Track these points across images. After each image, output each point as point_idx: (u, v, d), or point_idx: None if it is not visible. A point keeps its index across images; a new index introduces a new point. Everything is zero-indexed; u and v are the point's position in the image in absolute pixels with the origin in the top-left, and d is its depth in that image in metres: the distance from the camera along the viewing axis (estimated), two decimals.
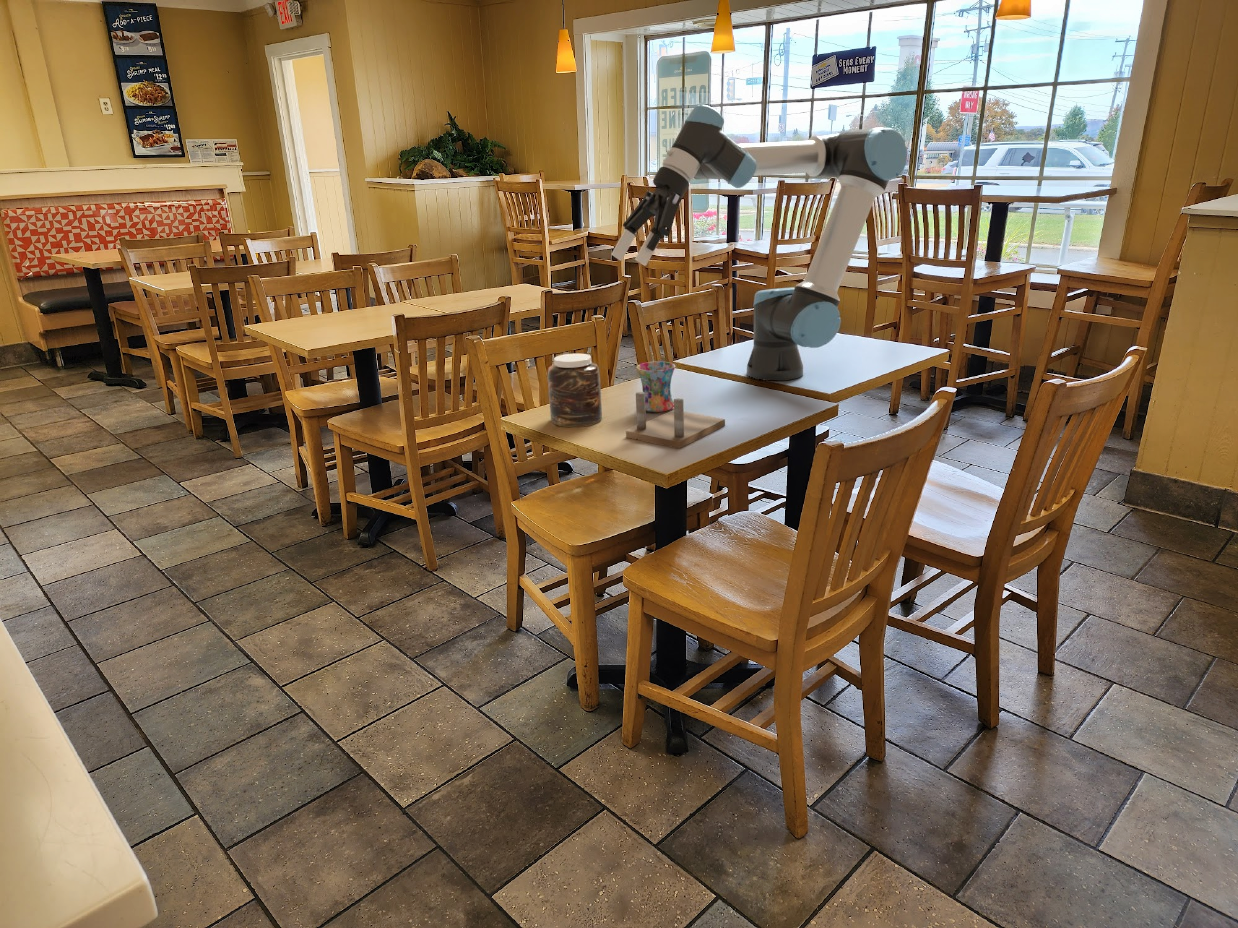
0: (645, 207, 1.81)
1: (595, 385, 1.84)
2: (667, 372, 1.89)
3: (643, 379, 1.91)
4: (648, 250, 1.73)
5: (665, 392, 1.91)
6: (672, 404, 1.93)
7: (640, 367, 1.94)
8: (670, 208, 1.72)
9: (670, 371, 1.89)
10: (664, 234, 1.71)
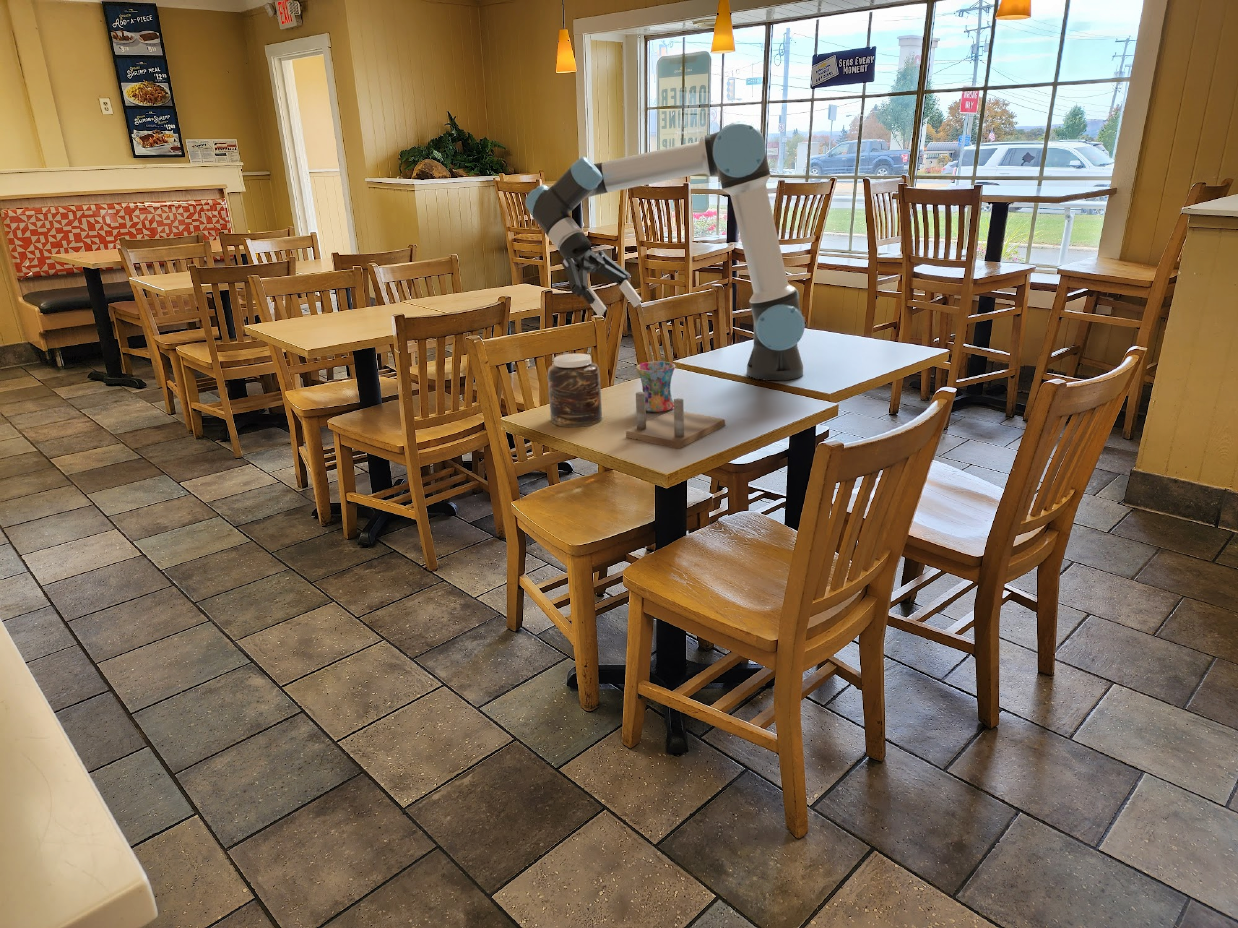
0: (596, 271, 1.99)
1: (595, 385, 1.84)
2: (667, 372, 1.89)
3: (643, 379, 1.91)
4: (594, 302, 1.90)
5: (665, 392, 1.91)
6: (672, 404, 1.93)
7: (640, 367, 1.94)
8: (568, 272, 1.91)
9: (670, 371, 1.89)
10: (577, 289, 1.88)
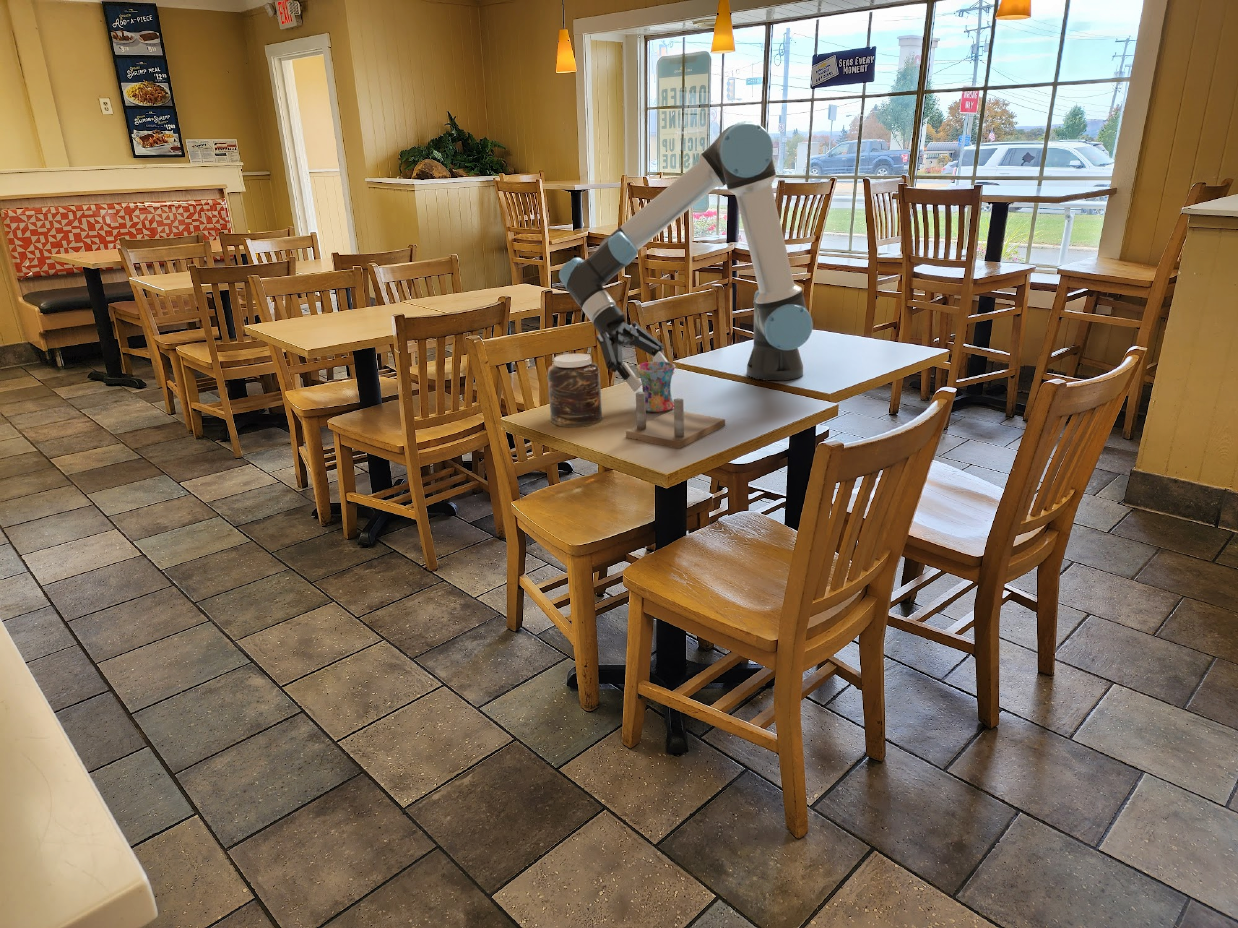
0: (629, 343, 1.99)
1: (595, 385, 1.84)
2: (667, 372, 1.89)
3: (643, 379, 1.91)
4: (629, 377, 1.90)
5: (665, 392, 1.91)
6: (672, 404, 1.93)
7: (640, 367, 1.94)
8: (603, 347, 1.91)
9: (670, 371, 1.89)
10: (613, 365, 1.88)
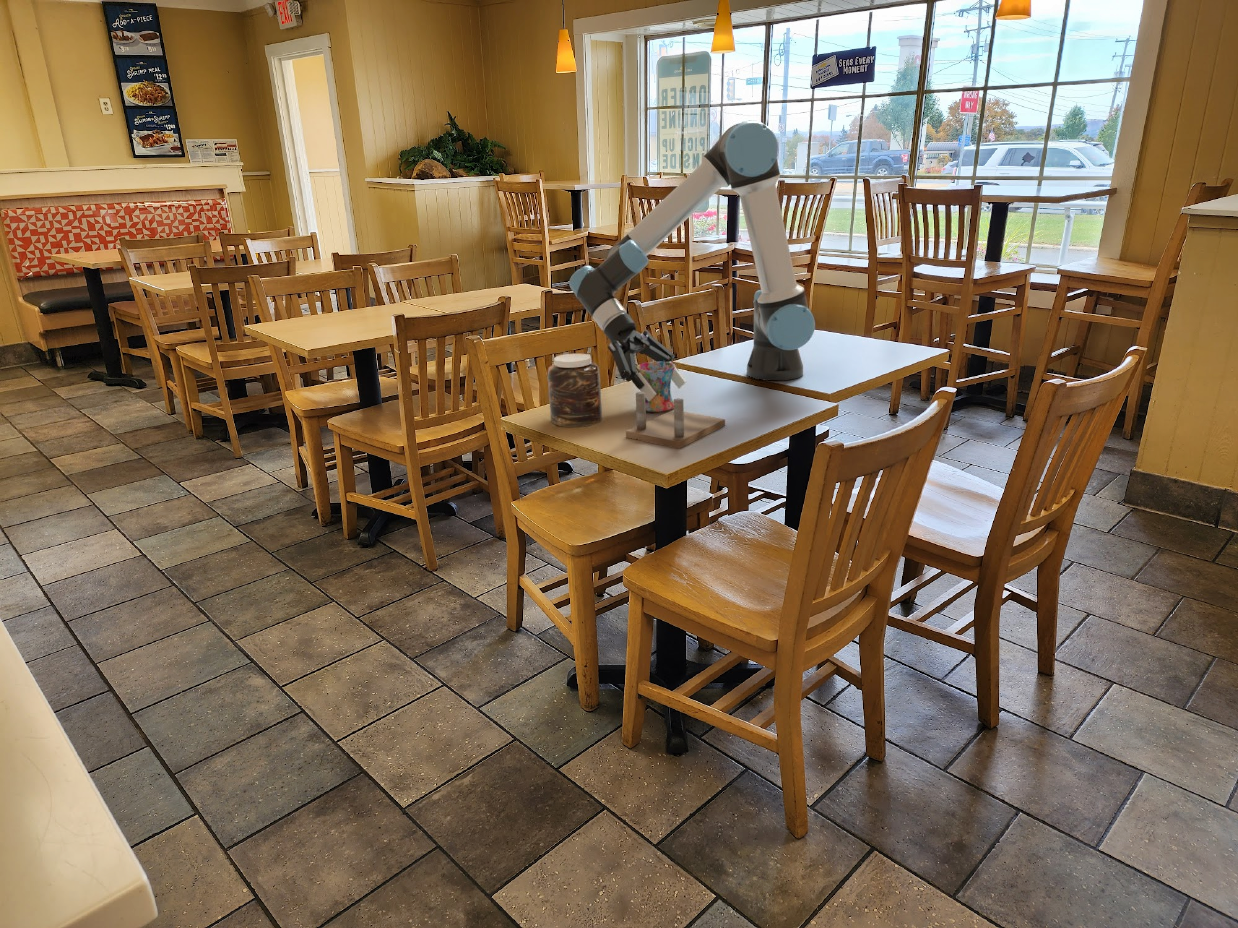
0: (640, 352, 1.98)
1: (595, 385, 1.84)
2: (667, 372, 1.88)
3: None
4: (644, 387, 1.89)
5: (665, 392, 1.91)
6: (672, 404, 1.93)
7: (640, 367, 1.94)
8: (615, 357, 1.91)
9: (670, 371, 1.89)
10: (627, 375, 1.88)
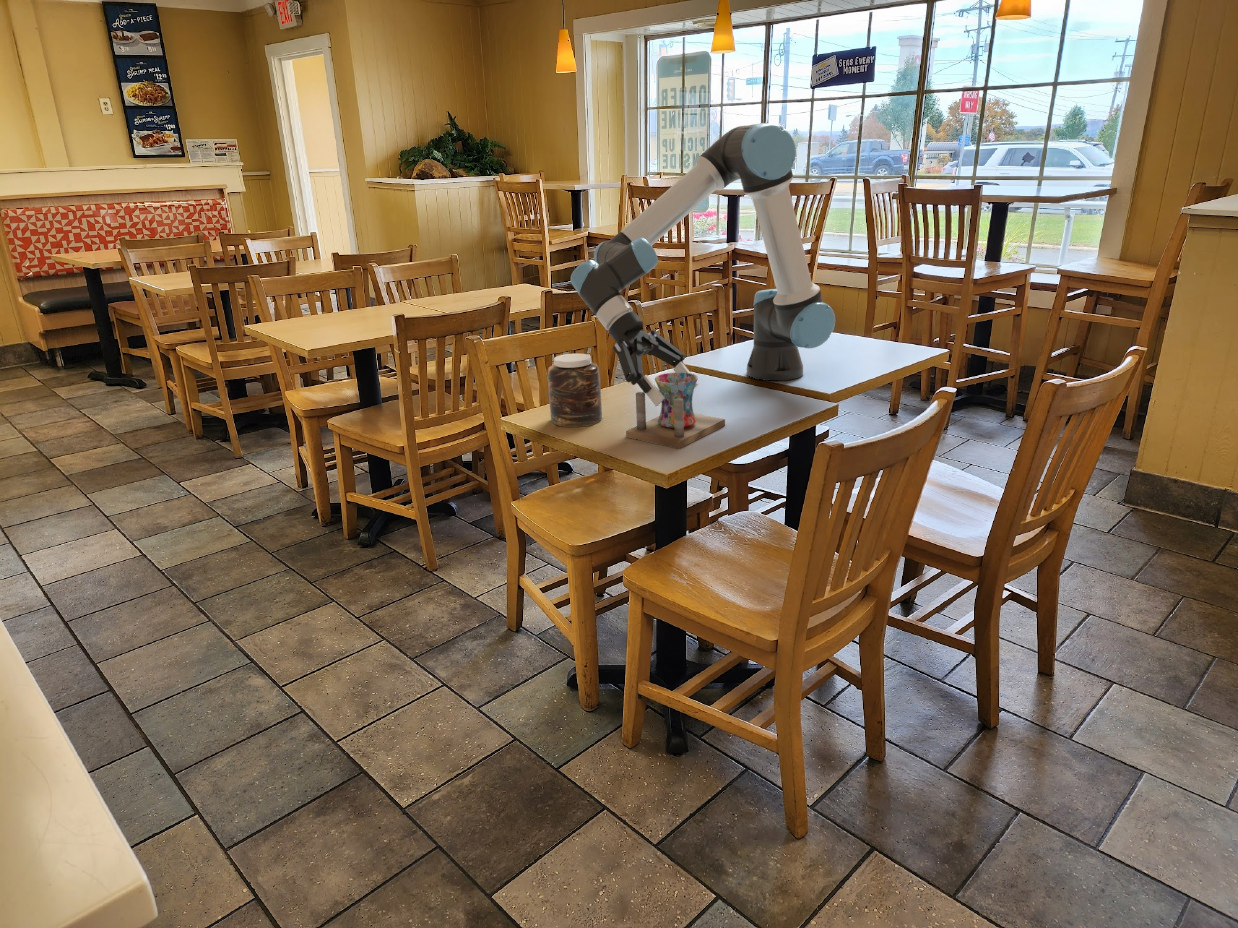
0: (648, 353, 1.83)
1: (595, 385, 1.84)
2: (689, 384, 1.72)
3: (662, 392, 1.74)
4: (651, 391, 1.73)
5: (687, 406, 1.74)
6: (694, 419, 1.76)
7: (659, 379, 1.77)
8: (621, 358, 1.75)
9: (692, 383, 1.72)
10: (633, 377, 1.72)
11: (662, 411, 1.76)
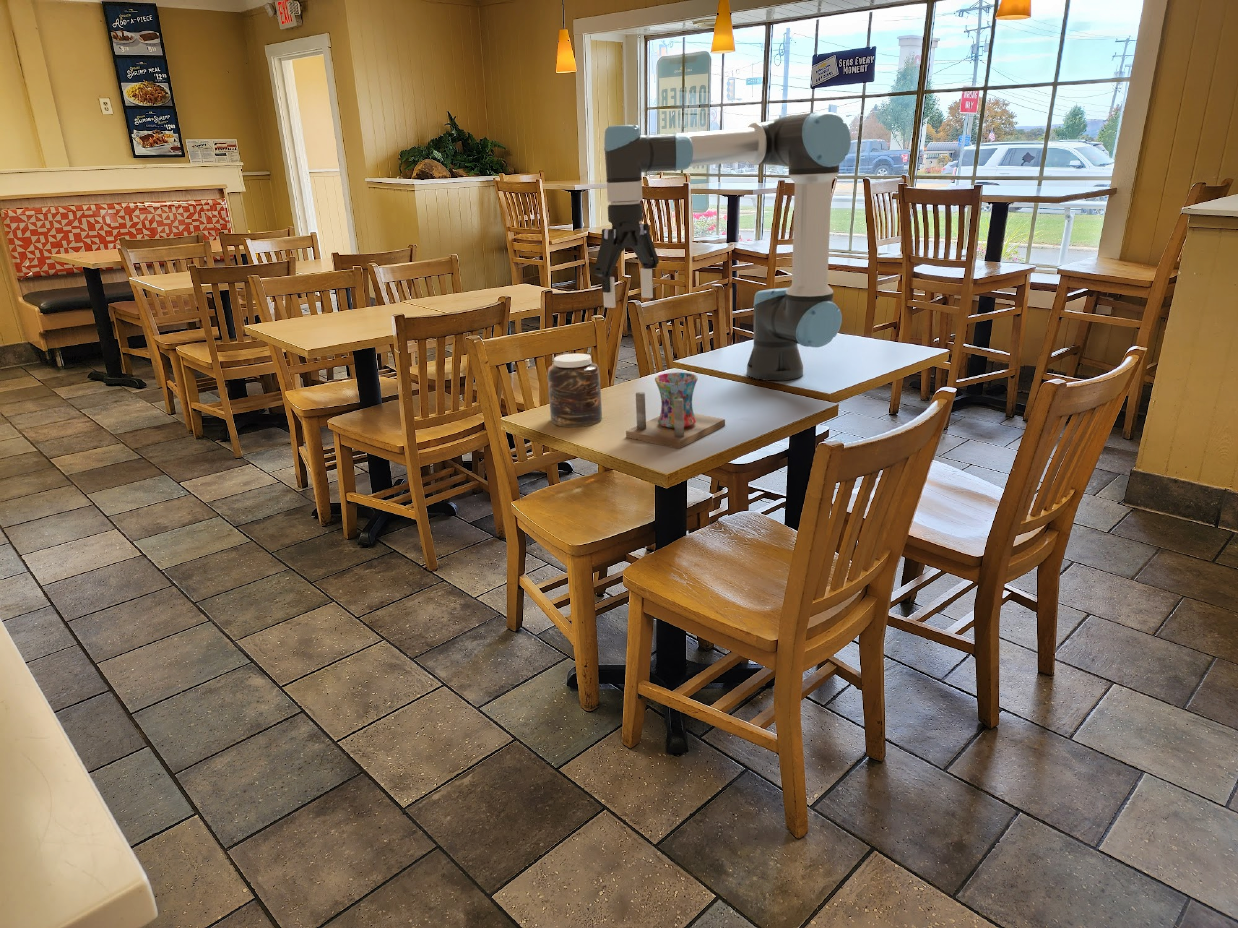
0: None
1: (595, 385, 1.84)
2: (689, 384, 1.72)
3: (662, 392, 1.74)
4: (608, 293, 1.75)
5: (687, 406, 1.74)
6: (694, 419, 1.76)
7: (659, 379, 1.77)
8: (602, 246, 1.71)
9: (692, 383, 1.72)
10: (600, 275, 1.71)
11: (662, 411, 1.76)
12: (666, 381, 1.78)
